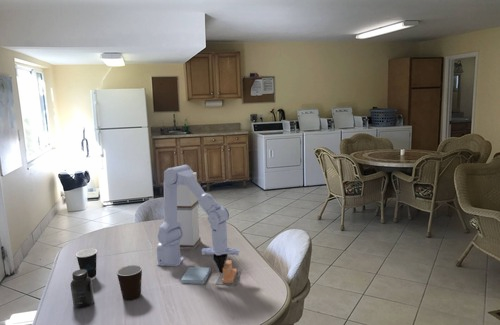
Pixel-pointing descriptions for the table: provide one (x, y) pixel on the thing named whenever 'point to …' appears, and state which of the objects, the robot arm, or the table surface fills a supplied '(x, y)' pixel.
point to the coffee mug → (130, 281)
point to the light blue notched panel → (196, 275)
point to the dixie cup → (87, 261)
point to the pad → (219, 282)
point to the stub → (228, 272)
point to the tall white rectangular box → (188, 216)
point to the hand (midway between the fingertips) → (221, 271)
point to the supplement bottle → (81, 289)
